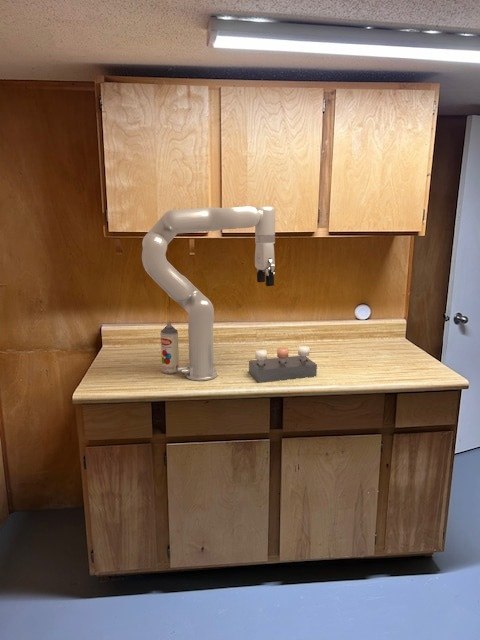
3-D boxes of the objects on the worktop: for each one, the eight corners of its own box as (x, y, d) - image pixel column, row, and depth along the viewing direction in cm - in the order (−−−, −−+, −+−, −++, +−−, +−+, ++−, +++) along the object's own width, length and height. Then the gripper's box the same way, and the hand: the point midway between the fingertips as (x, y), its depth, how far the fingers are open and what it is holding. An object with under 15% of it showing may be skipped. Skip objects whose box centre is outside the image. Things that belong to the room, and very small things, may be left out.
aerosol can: (158, 372, 185) (156, 324, 181) (169, 367, 191) (167, 320, 186) (172, 375, 182) (170, 326, 177) (182, 370, 188) (181, 322, 183)
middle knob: (279, 370, 180) (279, 351, 178) (275, 367, 184) (275, 348, 183) (289, 369, 182) (290, 350, 180) (285, 366, 186) (285, 347, 184)
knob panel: (258, 382, 175) (258, 370, 173) (248, 372, 186) (248, 360, 185) (316, 376, 181) (316, 364, 180) (303, 366, 193) (304, 355, 191)
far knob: (300, 368, 183) (301, 349, 181) (295, 365, 187) (296, 346, 185) (310, 367, 184) (311, 348, 182) (305, 364, 188) (306, 345, 186)
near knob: (257, 373, 178) (257, 353, 176) (253, 369, 182) (254, 349, 180) (268, 372, 179) (268, 352, 177) (264, 368, 183) (264, 349, 181)
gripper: (248, 238, 183) (249, 281, 187) (263, 241, 167) (264, 288, 171) (266, 237, 185) (266, 280, 190) (282, 240, 169) (282, 286, 174)
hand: (265, 283), depth 180 cm, fingers open, 9 cm apart
